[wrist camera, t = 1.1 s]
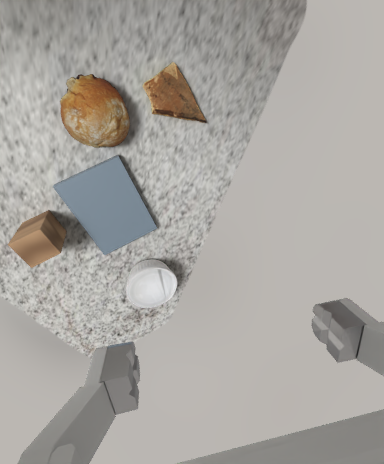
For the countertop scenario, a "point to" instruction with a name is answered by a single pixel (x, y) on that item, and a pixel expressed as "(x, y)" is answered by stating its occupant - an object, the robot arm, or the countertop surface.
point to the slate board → (107, 204)
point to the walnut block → (38, 239)
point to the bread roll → (94, 112)
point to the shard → (172, 95)
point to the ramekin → (150, 284)
